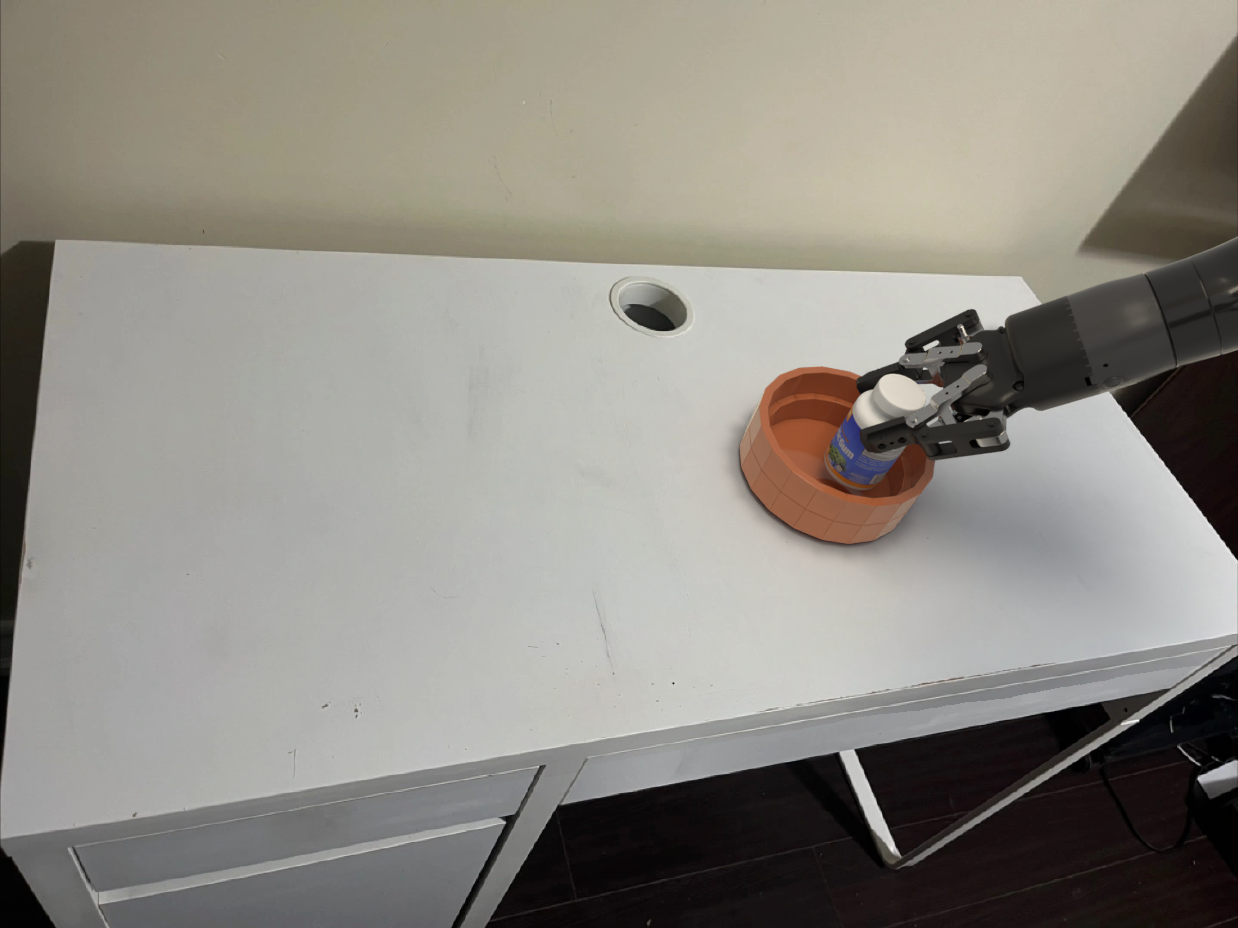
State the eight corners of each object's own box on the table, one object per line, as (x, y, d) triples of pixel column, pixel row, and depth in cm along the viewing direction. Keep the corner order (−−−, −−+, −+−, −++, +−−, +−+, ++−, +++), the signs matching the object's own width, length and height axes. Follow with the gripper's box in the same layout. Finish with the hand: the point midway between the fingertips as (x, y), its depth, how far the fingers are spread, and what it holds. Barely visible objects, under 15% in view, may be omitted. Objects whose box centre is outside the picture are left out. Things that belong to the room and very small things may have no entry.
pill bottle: (818, 440, 76) (863, 361, 69) (875, 449, 77) (926, 371, 70) (827, 488, 73) (876, 410, 65) (887, 496, 73) (941, 420, 66)
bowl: (929, 479, 80) (961, 437, 76) (856, 580, 71) (888, 538, 66) (791, 387, 84) (814, 342, 80) (705, 470, 75) (725, 424, 71)
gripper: (1054, 246, 65) (839, 327, 73) (1099, 375, 55) (846, 451, 63) (1078, 317, 69) (872, 386, 77) (1123, 448, 59) (883, 510, 68)
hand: (862, 415), depth 70 cm, fingers closed on pill bottle, 5 cm apart
